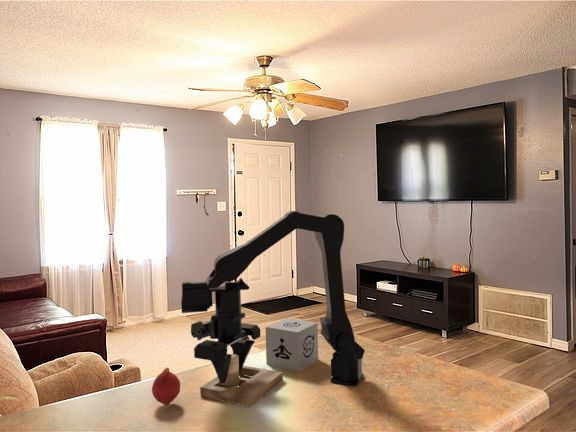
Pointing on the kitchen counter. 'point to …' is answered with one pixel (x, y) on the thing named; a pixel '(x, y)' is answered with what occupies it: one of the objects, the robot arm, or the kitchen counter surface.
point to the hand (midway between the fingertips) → (230, 378)
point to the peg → (232, 373)
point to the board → (244, 386)
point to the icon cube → (292, 344)
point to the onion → (166, 387)
